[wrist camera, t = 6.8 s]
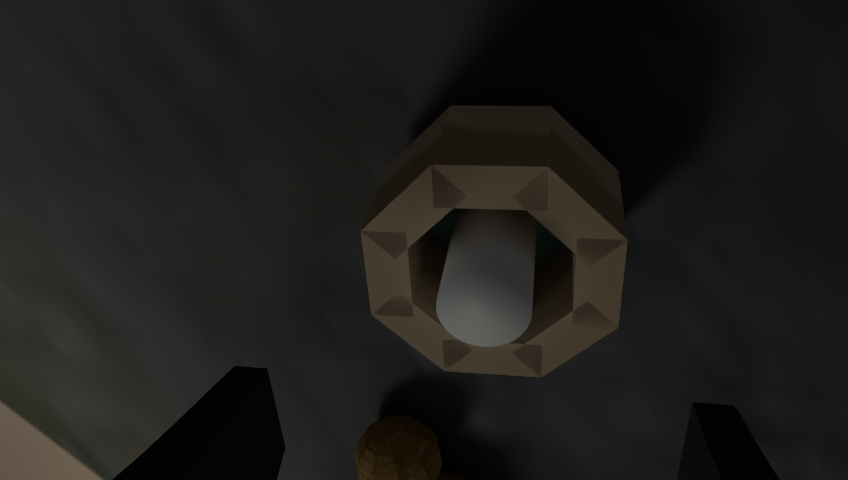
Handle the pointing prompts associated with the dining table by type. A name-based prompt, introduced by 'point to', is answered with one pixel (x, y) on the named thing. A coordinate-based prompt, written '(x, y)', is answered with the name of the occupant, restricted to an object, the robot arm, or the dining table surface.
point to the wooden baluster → (400, 451)
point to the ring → (506, 190)
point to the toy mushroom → (489, 273)
